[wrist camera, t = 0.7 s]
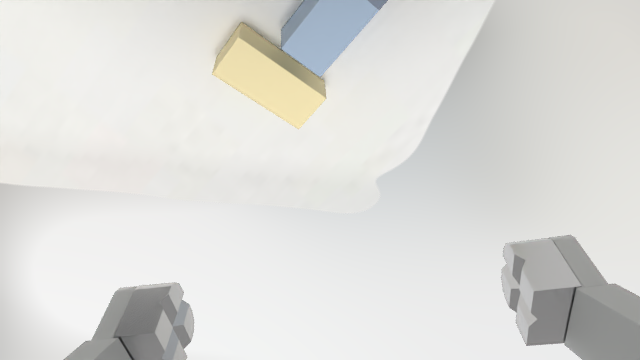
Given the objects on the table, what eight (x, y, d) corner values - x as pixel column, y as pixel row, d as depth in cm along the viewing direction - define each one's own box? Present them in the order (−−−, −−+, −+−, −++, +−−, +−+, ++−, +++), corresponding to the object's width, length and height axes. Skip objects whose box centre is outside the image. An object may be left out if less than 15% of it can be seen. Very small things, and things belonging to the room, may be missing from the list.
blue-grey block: (281, 29, 40) (281, 48, 37) (343, -50, 36) (348, -36, 33) (317, 56, 41) (320, 77, 38) (379, -17, 38) (388, -1, 35)
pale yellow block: (216, 56, 41) (212, 74, 38) (241, 20, 39) (238, 37, 37) (297, 109, 45) (298, 129, 42) (323, 79, 43) (326, 98, 40)
